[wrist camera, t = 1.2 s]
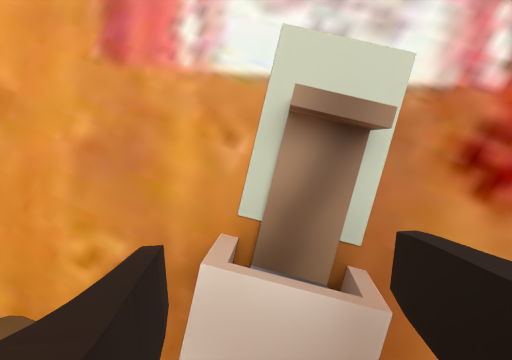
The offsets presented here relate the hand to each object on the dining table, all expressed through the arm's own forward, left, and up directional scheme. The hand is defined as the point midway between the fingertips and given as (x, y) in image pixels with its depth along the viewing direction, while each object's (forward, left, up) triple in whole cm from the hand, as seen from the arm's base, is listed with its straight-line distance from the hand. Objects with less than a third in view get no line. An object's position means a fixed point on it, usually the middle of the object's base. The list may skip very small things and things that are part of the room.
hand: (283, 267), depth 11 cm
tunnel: (-1, +7, -12) cm, 14 cm away
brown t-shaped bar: (-1, +2, -11) cm, 12 cm away
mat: (-1, -4, -12) cm, 13 cm away
